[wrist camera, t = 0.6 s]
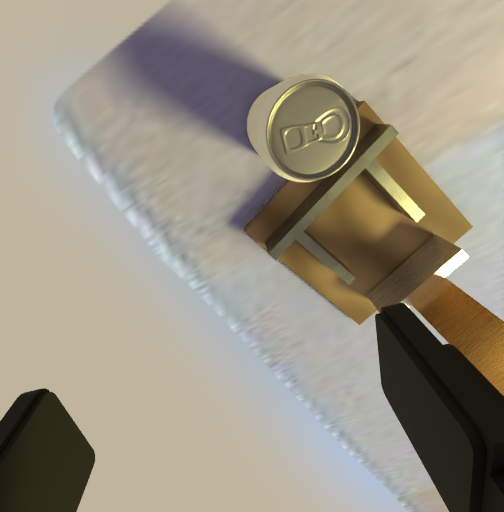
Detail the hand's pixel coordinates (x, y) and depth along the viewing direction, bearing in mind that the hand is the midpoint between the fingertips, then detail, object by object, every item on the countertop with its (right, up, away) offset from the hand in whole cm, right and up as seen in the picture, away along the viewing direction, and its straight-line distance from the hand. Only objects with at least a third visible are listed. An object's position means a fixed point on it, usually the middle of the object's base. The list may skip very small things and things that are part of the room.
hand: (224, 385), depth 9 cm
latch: (+18, +2, +26) cm, 32 cm away
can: (+3, +16, +21) cm, 26 cm away
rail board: (+11, +8, +25) cm, 28 cm away
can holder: (+10, +8, +23) cm, 27 cm away
